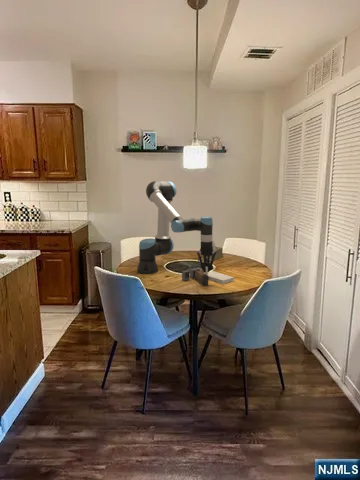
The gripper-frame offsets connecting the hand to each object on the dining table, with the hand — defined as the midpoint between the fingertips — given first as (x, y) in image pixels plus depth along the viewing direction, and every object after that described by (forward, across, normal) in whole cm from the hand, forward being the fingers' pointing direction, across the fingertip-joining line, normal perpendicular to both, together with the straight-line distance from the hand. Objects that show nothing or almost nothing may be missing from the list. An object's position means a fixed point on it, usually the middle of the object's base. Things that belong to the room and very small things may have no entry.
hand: (206, 276), depth 209 cm
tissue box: (+4, -17, -70) cm, 73 cm away
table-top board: (+4, -9, -9) cm, 13 cm away
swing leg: (+4, +3, -2) cm, 5 cm away
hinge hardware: (+4, +7, -10) cm, 13 cm away
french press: (+4, -5, -36) cm, 37 cm away
